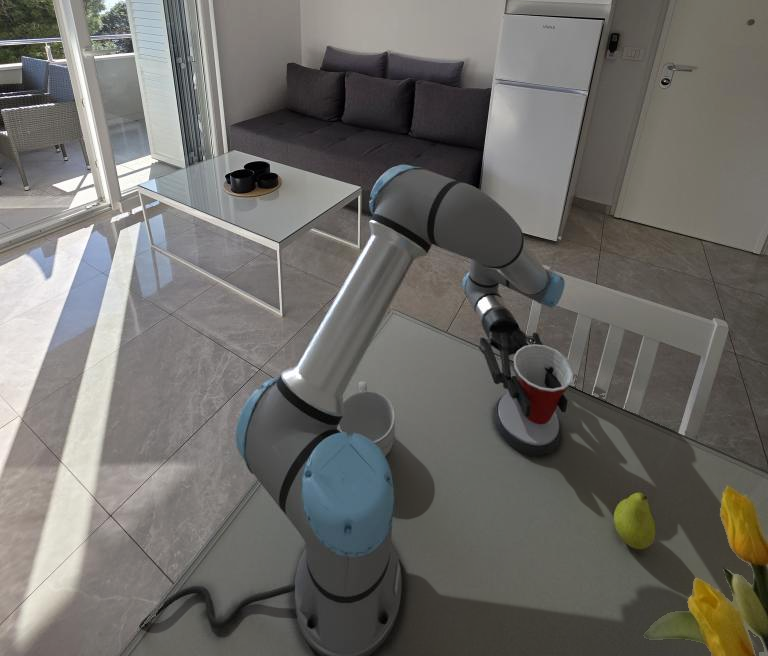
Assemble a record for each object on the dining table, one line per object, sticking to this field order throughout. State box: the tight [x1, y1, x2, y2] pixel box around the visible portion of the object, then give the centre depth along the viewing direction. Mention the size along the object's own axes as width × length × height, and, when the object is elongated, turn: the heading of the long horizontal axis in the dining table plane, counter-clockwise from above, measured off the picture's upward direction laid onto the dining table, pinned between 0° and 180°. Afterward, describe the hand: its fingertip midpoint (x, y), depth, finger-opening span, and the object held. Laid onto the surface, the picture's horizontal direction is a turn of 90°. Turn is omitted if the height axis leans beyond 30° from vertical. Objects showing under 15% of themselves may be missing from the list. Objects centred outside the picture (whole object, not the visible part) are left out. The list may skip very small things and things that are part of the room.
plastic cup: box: [513, 344, 575, 424], centre depth 83 cm, size 11×11×12 cm
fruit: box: [613, 492, 656, 550], centre depth 67 cm, size 6×6×12 cm
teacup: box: [337, 381, 396, 457], centre depth 82 cm, size 14×11×8 cm
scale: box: [494, 391, 562, 457], centre depth 86 cm, size 12×12×3 cm
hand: (546, 408), depth 78 cm, fingers closed on plastic cup, 6 cm apart
